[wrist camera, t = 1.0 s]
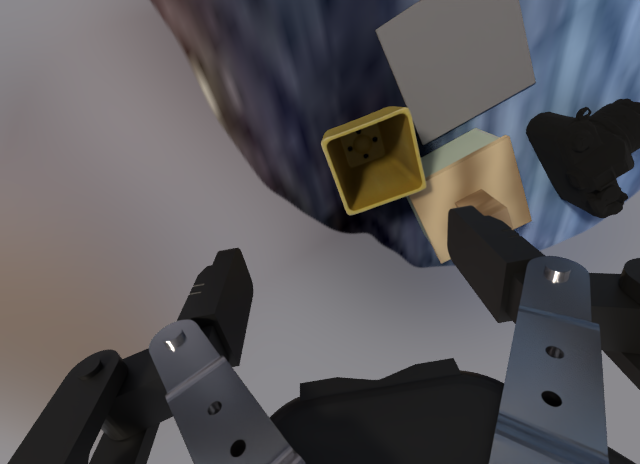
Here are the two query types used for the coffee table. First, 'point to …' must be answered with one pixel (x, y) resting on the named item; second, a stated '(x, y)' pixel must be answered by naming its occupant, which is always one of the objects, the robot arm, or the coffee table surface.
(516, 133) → the coffee table surface
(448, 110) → the mat
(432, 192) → the lid
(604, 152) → the film camera
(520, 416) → the robot arm
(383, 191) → the flower pot
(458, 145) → the pale green open box
